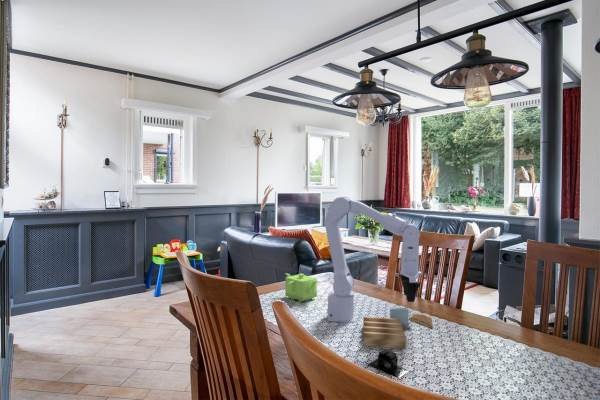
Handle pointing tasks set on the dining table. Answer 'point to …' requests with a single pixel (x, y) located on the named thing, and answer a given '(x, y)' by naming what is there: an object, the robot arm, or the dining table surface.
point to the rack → (383, 332)
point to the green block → (301, 287)
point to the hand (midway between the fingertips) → (409, 298)
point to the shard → (422, 319)
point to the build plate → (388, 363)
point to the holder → (406, 327)
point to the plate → (400, 315)
